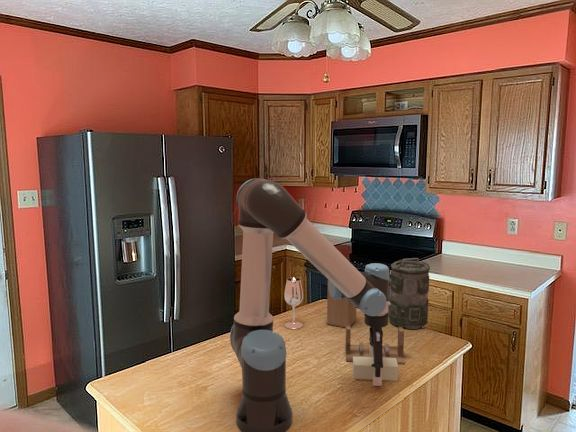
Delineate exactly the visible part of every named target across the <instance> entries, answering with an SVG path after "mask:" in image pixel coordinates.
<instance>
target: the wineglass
mask: <svg viewBox="0 0 576 432" xmlns="http://www.w3.org/2000/svg"><path fill="white" fill-rule="evenodd" d="M302 284H303V283H302V280H301V278H299V277H288V278H287V279H286V283H285V288H284V294H283V295H284V297H283V298H284V300H285V302H286V304H287V305H289V306H291V308H292V321H287V322H286V323H284V327H285V328H287V329H288V330H289V329H291V330H299V329H301V328H302V327H303V326H304V324H303V323H301V322H299V321H296V320H295V318H296V317H295V314H296V313H295V311H296V310H295V309H296V307H297V306H299V305H300V304H301V303H302V302H303V299H304V292H303V286H302Z"/></svg>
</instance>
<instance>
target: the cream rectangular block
mask: <svg viewBox="0 0 576 432" xmlns="http://www.w3.org/2000/svg"><path fill="white" fill-rule="evenodd" d="M372 364H374V357H353V362H352V374H353V375H352V376H353V380H372V381H373V367H371V365H372ZM399 367H400V366H399V364H398V363H397V360H396V358H383V368H382V381H396V382H397V381H398V382H399V369H400V368H399Z"/></svg>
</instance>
